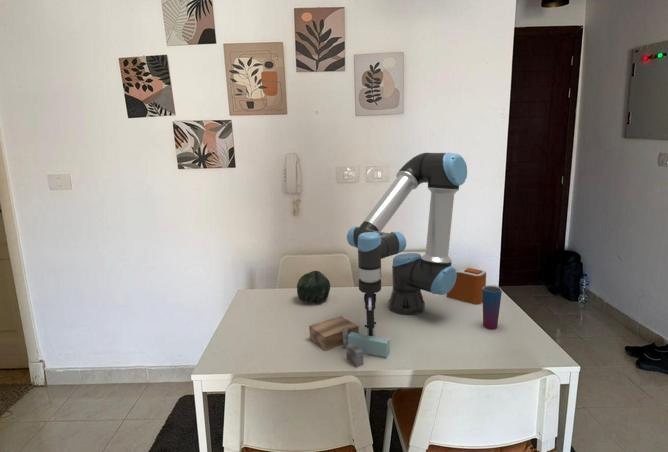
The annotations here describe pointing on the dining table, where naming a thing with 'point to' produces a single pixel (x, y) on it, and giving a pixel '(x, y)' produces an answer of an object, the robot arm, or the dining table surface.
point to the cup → (491, 306)
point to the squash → (313, 287)
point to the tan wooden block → (337, 337)
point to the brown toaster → (468, 286)
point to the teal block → (370, 344)
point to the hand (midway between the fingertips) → (370, 343)
